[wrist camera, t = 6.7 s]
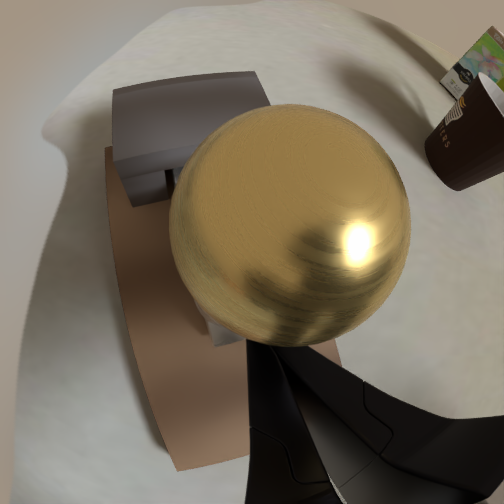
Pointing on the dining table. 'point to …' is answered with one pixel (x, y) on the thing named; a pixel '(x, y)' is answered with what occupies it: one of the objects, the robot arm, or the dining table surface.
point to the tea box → (478, 63)
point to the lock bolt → (288, 226)
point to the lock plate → (164, 268)
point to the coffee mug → (470, 137)
